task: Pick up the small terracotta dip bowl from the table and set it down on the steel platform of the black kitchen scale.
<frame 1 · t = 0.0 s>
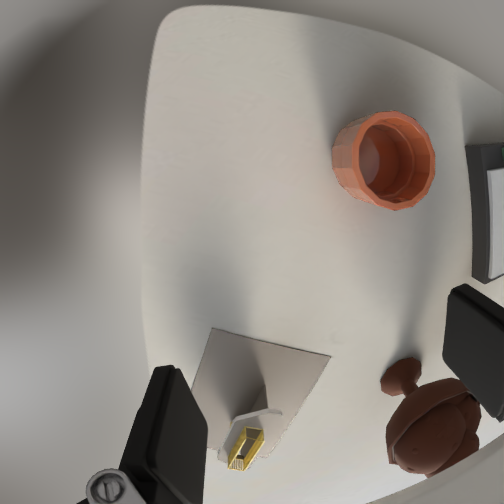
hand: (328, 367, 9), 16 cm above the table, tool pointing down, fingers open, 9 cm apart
ice cream bowl: (400, 375, 29), on the table
platform: (244, 406, 29), on the table
dip bowl: (368, 159, 23), on the table
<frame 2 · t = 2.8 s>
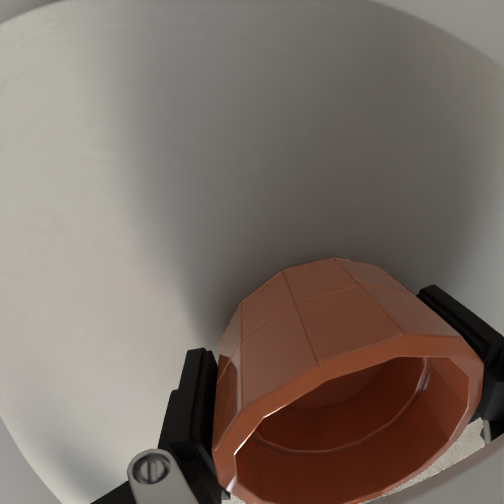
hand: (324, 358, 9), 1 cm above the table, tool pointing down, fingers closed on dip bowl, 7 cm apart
dip bowl: (319, 344, 10), on the table, touching gripper
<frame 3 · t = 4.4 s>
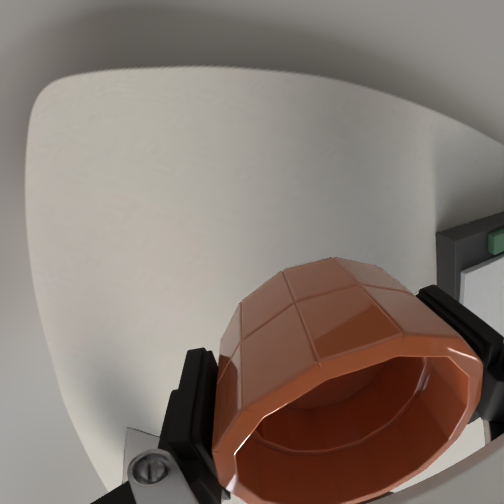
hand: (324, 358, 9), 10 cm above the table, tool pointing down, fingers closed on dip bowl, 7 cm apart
scale: (488, 292, 20), on the table
platform: (175, 483, 25), on the table
dip bowl: (319, 344, 10), point 9 cm above the table, touching gripper
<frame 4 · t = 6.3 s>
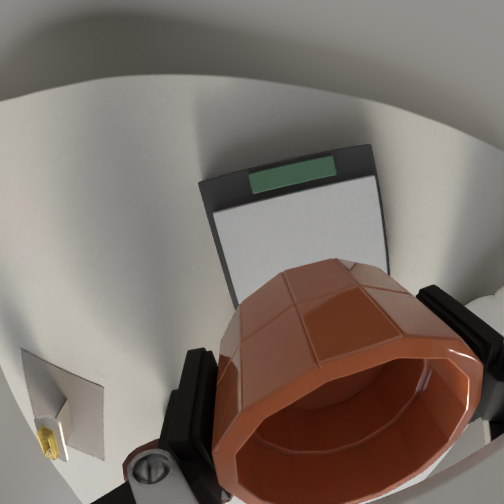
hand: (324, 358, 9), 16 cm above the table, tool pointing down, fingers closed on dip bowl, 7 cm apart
scale: (302, 244, 24), on the table
ice cream bowl: (188, 419, 30), on the table
teapot: (463, 332, 29), on the table
platform: (64, 412, 30), on the table
dip bowl: (319, 345, 10), point 15 cm above the table, touching gripper
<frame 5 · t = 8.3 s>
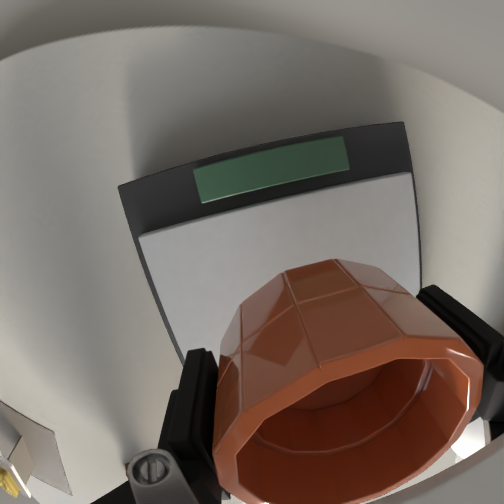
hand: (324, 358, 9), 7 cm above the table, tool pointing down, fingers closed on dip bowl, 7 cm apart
scale: (292, 279, 16), on the table
teapot: (492, 373, 20), on the table
platform: (23, 448, 21), on the table
dip bowl: (319, 345, 10), point 6 cm above the table, touching gripper
when the fingers open (4 cm above the table, at t = 9.7 s): dip bowl stays where it is, resting on scale.
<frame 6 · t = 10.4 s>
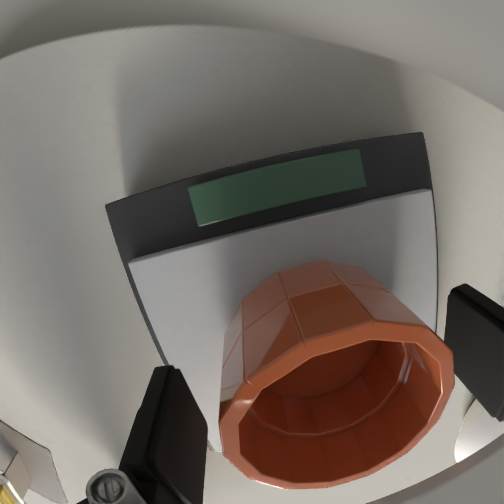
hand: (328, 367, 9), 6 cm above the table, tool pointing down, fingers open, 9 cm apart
scale: (298, 305, 14), on the table
teapot: (500, 389, 18), on the table
platform: (19, 462, 19), on the table
dip bowl: (312, 338, 12), point 3 cm above the table, touching scale
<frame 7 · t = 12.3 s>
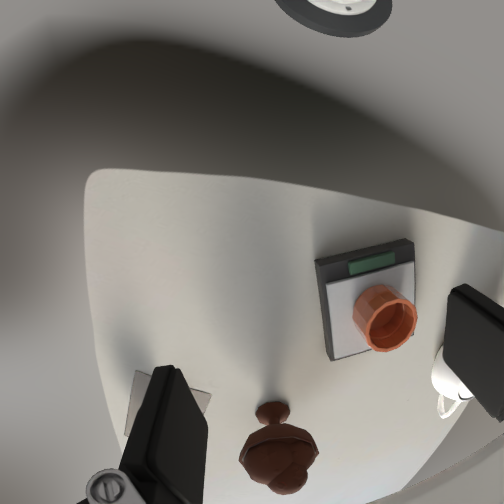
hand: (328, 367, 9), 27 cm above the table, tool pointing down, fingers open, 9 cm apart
scale: (366, 298, 38), on the table
ice cream bowl: (272, 412, 43), on the table
teapot: (456, 348, 42), on the table
platform: (163, 418, 43), on the table
dip bowl: (375, 308, 35), point 3 cm above the table, touching scale
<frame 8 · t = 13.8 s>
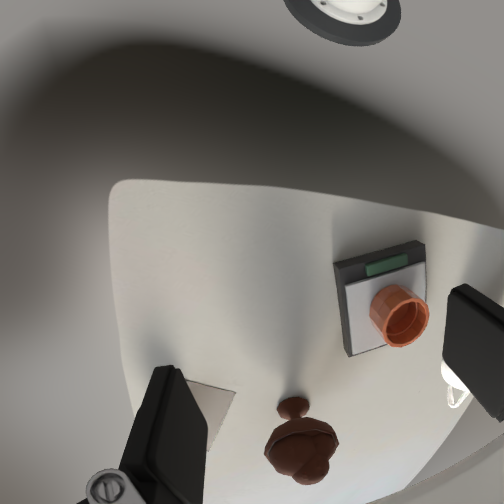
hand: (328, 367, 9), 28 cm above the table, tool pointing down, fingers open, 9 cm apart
scale: (381, 296, 40), on the table
ice cream bowl: (293, 407, 45), on the table
teapot: (463, 341, 44), on the table
platform: (187, 417, 45), on the table
dip bowl: (390, 306, 37), point 3 cm above the table, touching scale
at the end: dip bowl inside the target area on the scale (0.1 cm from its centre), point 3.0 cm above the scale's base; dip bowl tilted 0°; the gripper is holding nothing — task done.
